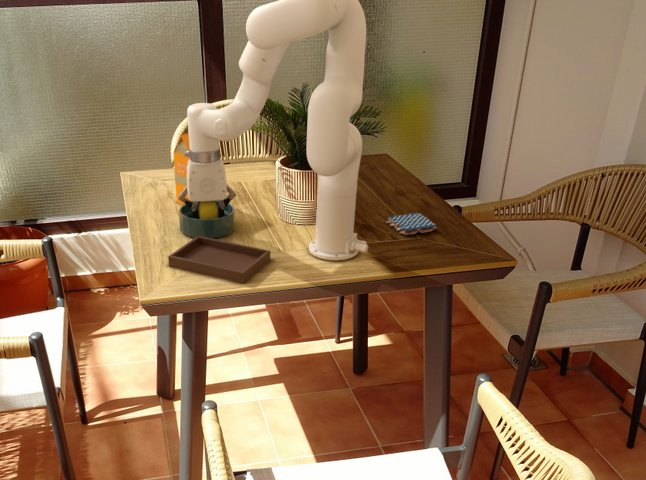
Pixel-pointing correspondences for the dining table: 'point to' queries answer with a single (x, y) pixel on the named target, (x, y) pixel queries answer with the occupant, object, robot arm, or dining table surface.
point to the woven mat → (411, 223)
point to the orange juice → (181, 164)
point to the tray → (219, 259)
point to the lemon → (208, 210)
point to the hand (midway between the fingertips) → (208, 222)
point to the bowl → (207, 223)
